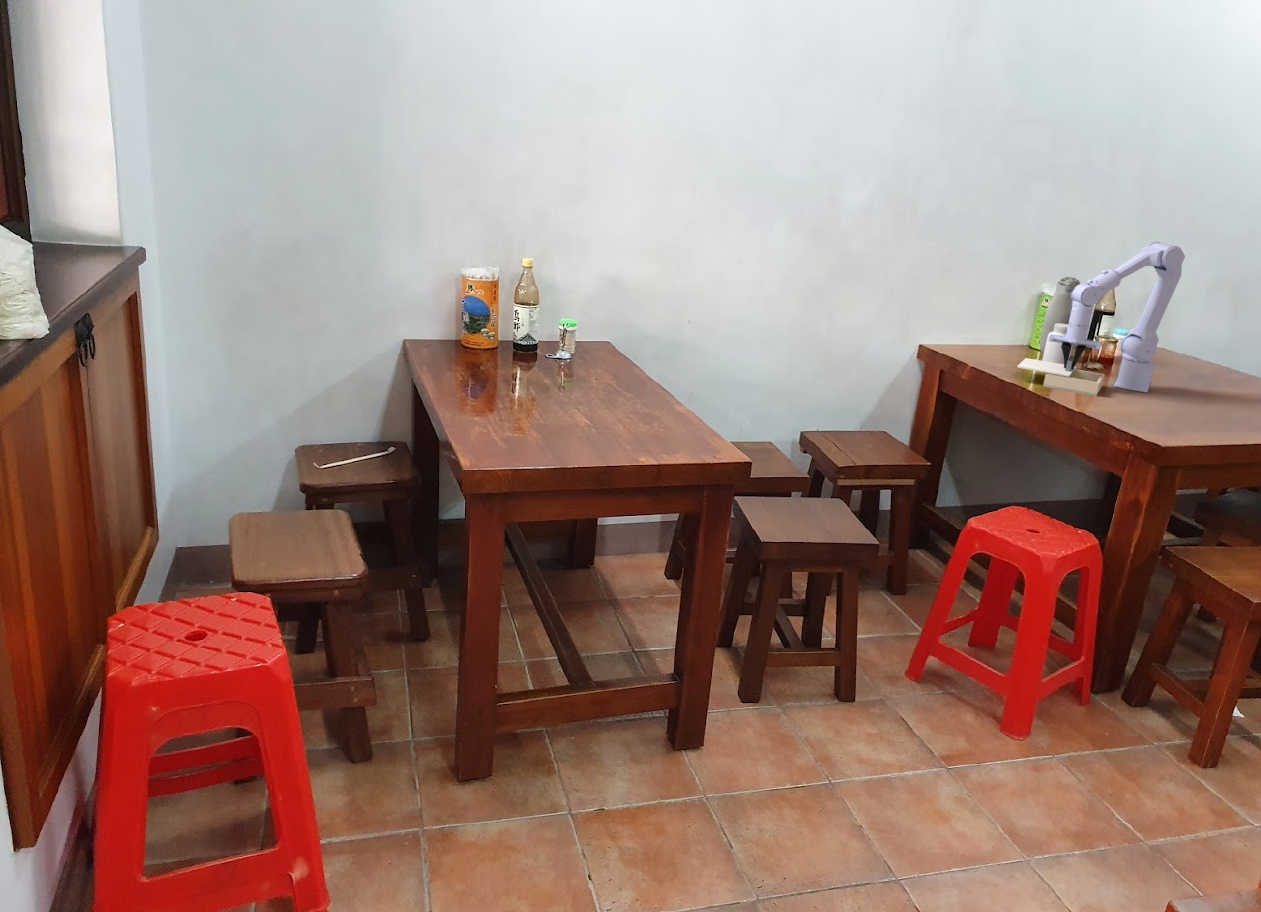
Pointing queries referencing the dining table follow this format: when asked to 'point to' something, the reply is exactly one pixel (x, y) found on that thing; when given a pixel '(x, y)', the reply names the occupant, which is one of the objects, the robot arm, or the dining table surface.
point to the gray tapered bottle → (1058, 308)
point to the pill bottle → (1055, 346)
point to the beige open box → (1076, 382)
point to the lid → (1047, 366)
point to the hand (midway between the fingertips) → (1068, 368)
